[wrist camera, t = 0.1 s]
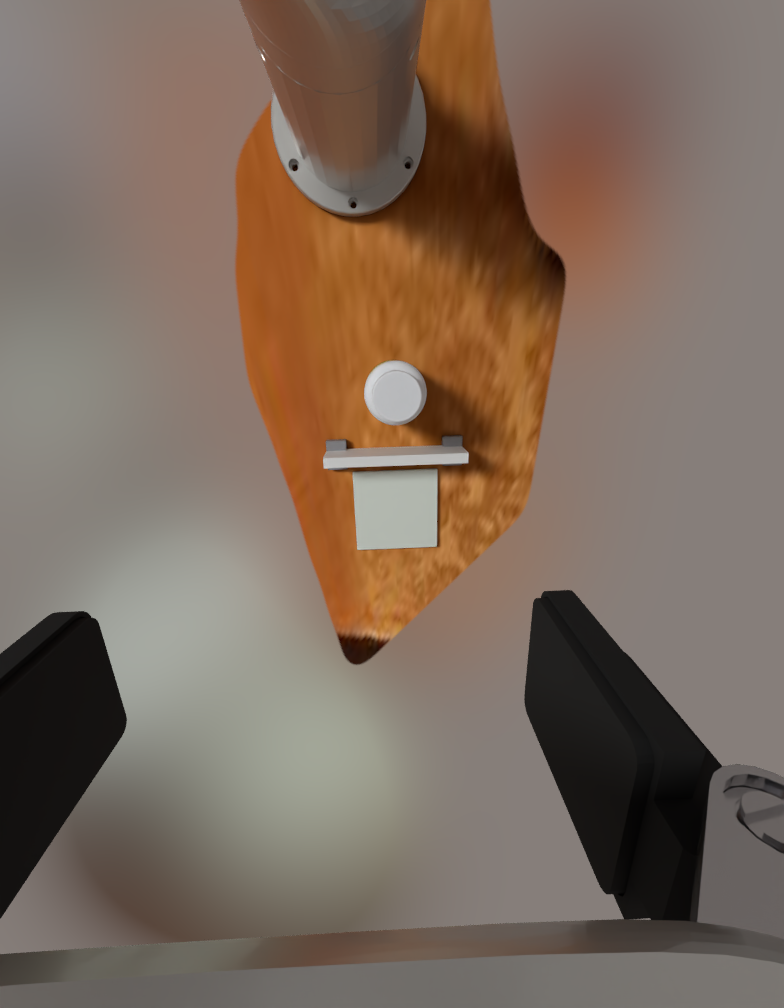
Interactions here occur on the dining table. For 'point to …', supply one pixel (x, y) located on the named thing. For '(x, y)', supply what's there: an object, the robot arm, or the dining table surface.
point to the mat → (395, 508)
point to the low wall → (395, 454)
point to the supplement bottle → (395, 392)
